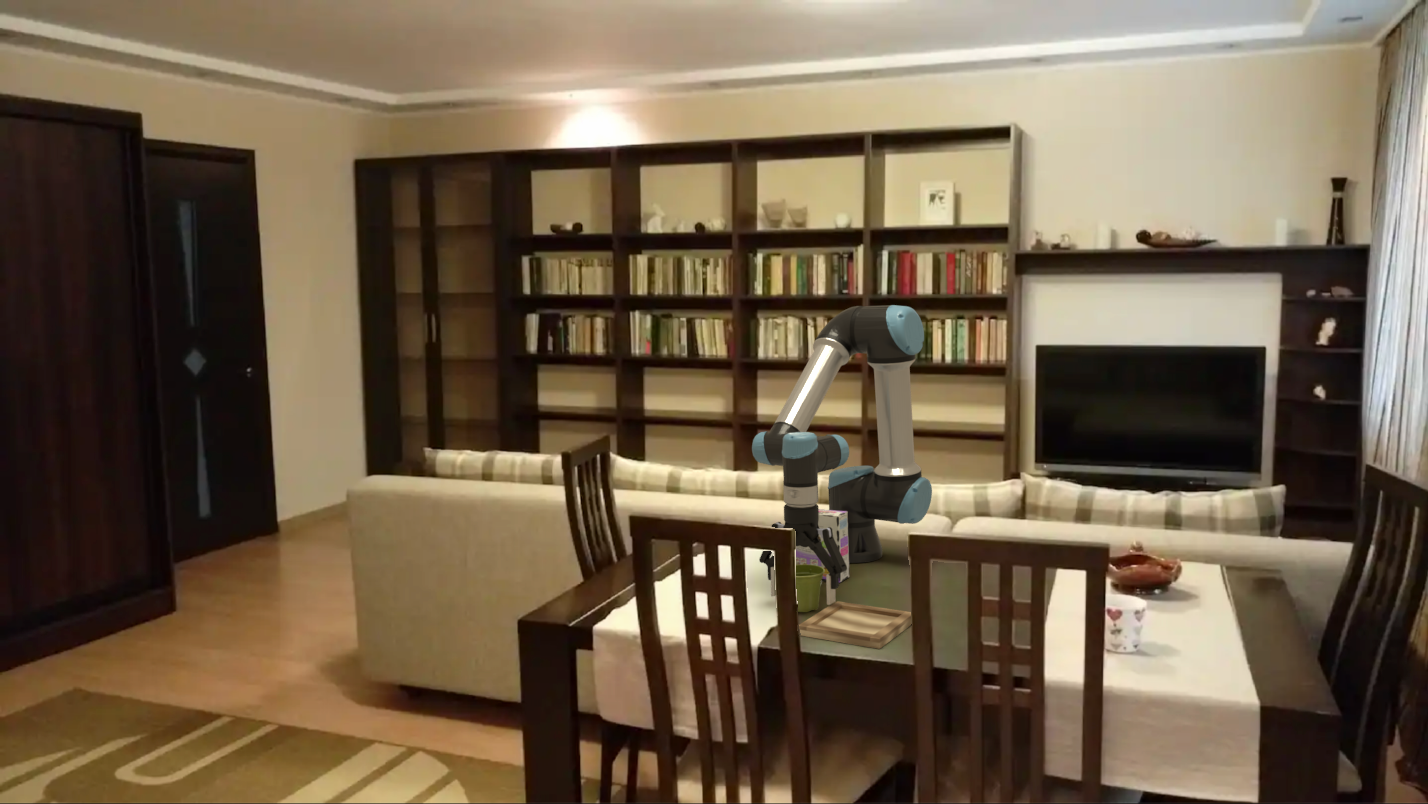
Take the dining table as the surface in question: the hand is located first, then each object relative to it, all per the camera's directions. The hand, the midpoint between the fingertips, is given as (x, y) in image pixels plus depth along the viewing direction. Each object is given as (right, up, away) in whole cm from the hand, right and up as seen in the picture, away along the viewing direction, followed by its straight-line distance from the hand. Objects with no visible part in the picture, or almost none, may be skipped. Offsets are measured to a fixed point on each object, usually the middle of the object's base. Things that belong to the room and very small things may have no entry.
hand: (803, 599), depth 232 cm
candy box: (+6, +1, +24) cm, 25 cm away
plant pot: (0, -2, 0) cm, 2 cm away
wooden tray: (+10, -3, -14) cm, 18 cm away
